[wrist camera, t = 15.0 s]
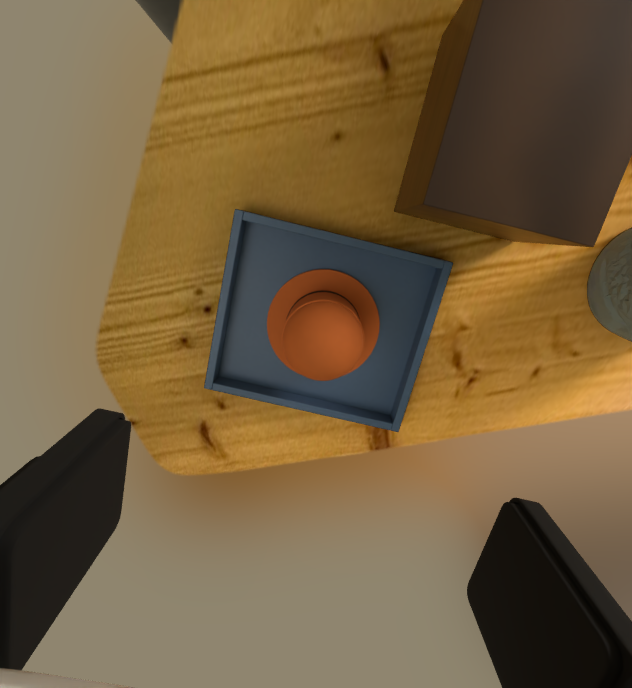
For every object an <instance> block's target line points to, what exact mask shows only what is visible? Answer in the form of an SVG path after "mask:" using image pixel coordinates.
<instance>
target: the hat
mask: <svg viewBox="0 0 632 688" xmlns="http://www.w3.org/2000/svg"><path fill="white" fill-rule="evenodd" d="M379 327H380V322H379V314H378V309H377V306H376V304H375V302H374V300H373V298H372V296H371V294H370V293H369V292H368V290H367V289H366V288H365V287H364V286H363V285H362V284H361V283H360V282H359V281H358V280H356V279H355V278H353V277H352V276H350V275H348V274H345V273H343V272H340V271H336V270H331V269H316V270H311V271H306V272H304V273H301V274H299V275H297V276H295V277H293V278H292V279H290V280H289V281H288V282H286V283H285V284H284V285H283V286H282V287H281V288H280V290H279V291H278V292H277V294H276V295H275V297H274V299H273V300H272V303H271V305H270V308H269V311H268V317H267V332H268V337H269V341H270V344H271V346H272V348H273V350H274V352H275V354H276V355H277V356H278V358H279V359H280V360H281V361H282V362H283V363H284V364H285V365H286V366H287V367H288V368H290V369H291V370H293V371H294V372H296V373H298V374H300V375H303V376H305V377H307V378H309V379H313V380H318V381H329V380H333V379H336V378H339V377H341V376H344V375H346V374H348V373H350V372H352V371H354V370H355V369H357V368H358V367H359V366H360V365H362V364H363V363H364V362H365V361H366V360H367V358H368V357H369V356H370V354H371V353H372V351H373V349H374V347H375V345H376V342H377V339H378V335H379Z"/></svg>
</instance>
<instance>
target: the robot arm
mask: <svg viewBox="0 0 632 688" xmlns="http://www.w3.org/2000/svg"><path fill="white" fill-rule="evenodd" d="M130 432H131V422H130V421H126V420H125V416H124V414H123V413H118V412H114V411H109V410H104V409H97V410H95V411H94V412H92V413H91V414H90V415H89V416H88V417H87V418H85V419H84V420H83V421H82V422H81V423H79V424H78V425H77V426H76V427H75V428H73V429H72V430H71V431H70V432H69V433H67V434H66V435H65V436H64V437H63V438H62V439H60V440H59V441H58V442H57V443H56V444H55V445H53V446H52V447H51V448H50V449H48V450H47V451H46V452H45V453H44V454H43V455H41V456H39V457H35V458H34V459H32V460H31V461H29V462H28V463H27V464H25V465H24V466H23V467H22V468H21V469H19V470H18V471H17V472H16V473H15V474H13V475H12V476H11V477H10V478H8V479H7V480H6V481H5V482H4V483H2V484H1V485H0V688H133V687H127V686H121V685H115V684H109V683H102V682H95V681H89V680H82V679H75V678H68V677H62V676H55V675H49V674H42V673H35V672H29V671H22V668H23V667H24V665H25V664H26V662H27V661H28V659H29V658H30V656H31V655H32V653H33V652H34V650H35V649H36V647H37V646H38V644H39V643H40V641H41V640H42V638H43V637H44V635H45V634H46V632H47V631H48V629H49V628H50V626H51V625H52V623H53V622H54V620H55V619H56V617H57V616H58V614H59V613H60V611H61V610H62V608H63V607H64V605H65V604H66V602H67V601H68V599H69V598H70V596H71V595H72V593H73V592H74V590H75V589H76V587H77V586H78V584H79V583H80V581H81V580H82V578H83V577H84V575H85V574H86V572H87V571H88V569H89V568H90V566H91V565H92V563H93V562H94V560H95V559H96V557H97V556H98V554H99V553H100V551H101V550H102V548H103V547H104V545H105V544H106V542H107V541H108V539H109V538H110V536H111V535H112V533H113V532H114V530H115V529H116V526H117V524H118V522H119V519H120V515H121V509H122V500H123V491H124V483H125V475H126V465H127V457H128V449H129V440H130ZM467 595H468V600H469V603H470V606H471V608H472V611H473V613H474V616H475V618H476V621H477V624H478V626H479V629H480V631H481V634H482V637H483V639H484V642H485V644H486V647H487V649H488V652H489V655H490V657H491V659H492V662H493V665H494V667H495V670H496V673H497V675H498V678H499V680H500V683H501V685H502V688H632V621H631V620H630V619H629V617H628V616H627V615H626V614H625V612H624V611H623V610H622V608H621V607H620V606H619V605H618V603H617V602H616V601H615V599H614V598H613V597H612V596H611V594H610V593H609V592H608V590H607V589H606V588H605V587H604V585H603V584H602V583H601V582H600V580H599V579H598V578H597V576H596V575H595V574H594V572H593V571H592V570H591V568H590V567H589V566H588V565H587V563H586V562H585V561H584V559H583V558H582V557H581V556H580V554H579V553H578V552H577V551H576V549H575V548H574V547H573V545H572V544H571V543H570V541H569V540H568V539H567V537H566V536H565V535H564V534H563V532H562V531H561V530H560V528H559V527H558V526H557V525H556V523H555V522H554V521H553V520H552V518H551V517H550V516H549V515H548V513H547V512H546V510H545V509H544V508H543V507H542V505H540V504H539V503H537V502H533V501H528V500H524V499H519V498H513V499H511V500H510V502H506V503H504V504H503V506H502V508H501V510H500V512H499V515H498V517H497V519H496V522H495V524H494V526H493V528H492V530H491V533H490V535H489V537H488V539H487V542H486V544H485V546H484V549H483V551H482V553H481V556H480V558H479V560H478V562H477V565H476V567H475V569H474V571H473V574H472V576H471V579H470V580H469V583H468V587H467Z"/></svg>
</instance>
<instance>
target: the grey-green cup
mask: <svg viewBox="0 0 632 688" xmlns="http://www.w3.org/2000/svg"><path fill="white" fill-rule="evenodd" d="M587 296H588V302H589V306H590V309H591V311H592V313H593V315H594V316H595V318H596V319H597V320H598V321H599V322H600V323H601V324H602V325H603V326H604V327H605V328H606V329H608V330H609V331H611V332H613V333H615V334H617V335H619V336H620V337H622V338H625V339H627V340H630V341H632V228H630V229H628V230H627V231H625V232H623V233H621V234H620V235H618V236H617V237H616V238H615V239H613V240H612V241H611V242H610V243H609V244H608V245H607V246H606V247H605V248H604V249H603V251H602V252H601V253H600V255H599V256H598V257H597V259H596V261H595V263H594V265H593V267H592V270H591V272H590V275H589V279H588V286H587Z"/></svg>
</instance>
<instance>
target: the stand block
mask: <svg viewBox="0 0 632 688" xmlns="http://www.w3.org/2000/svg"><path fill="white" fill-rule="evenodd" d="M631 155H632V0H464V1H463V2H462V4H461V6H460V7H459V9H458V11H457V12H456V14H455V16H454V17H453V19H452V20H451V22H450V24H449V25H448V27H447V29H446V30H445V32H444V34H443V35H442V39H441V42H440V46H439V49H438V53H437V57H436V60H435V64H434V68H433V71H432V75H431V79H430V82H429V86H428V89H427V93H426V97H425V100H424V104H423V108H422V111H421V115H420V118H419V122H418V126H417V129H416V133H415V137H414V140H413V144H412V147H411V151H410V155H409V158H408V162H407V166H406V169H405V173H404V176H403V180H402V184H401V187H400V191H399V195H398V198H397V202H396V206H395V209H394V212H398V213H402V214H406V215H410V216H414V217H418V218H422V219H426V220H430V221H434V222H438V223H442V224H446V225H450V226H454V227H458V228H462V229H466V230H470V231H474V232H478V233H482V234H486V235H490V236H494V237H498V238H502V239H506V240H510V241H514V242H526V243H540V244H555V245H569V246H583V247H594V245H595V242H596V240H597V237H598V235H599V233H600V230H601V228H602V225H603V223H604V221H605V218H606V216H607V213H608V211H609V208H610V206H611V204H612V201H613V199H614V196H615V194H616V192H617V189H618V187H619V184H620V182H621V179H622V177H623V175H624V172H625V170H626V167H627V165H628V163H629V160H630V158H631Z"/></svg>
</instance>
